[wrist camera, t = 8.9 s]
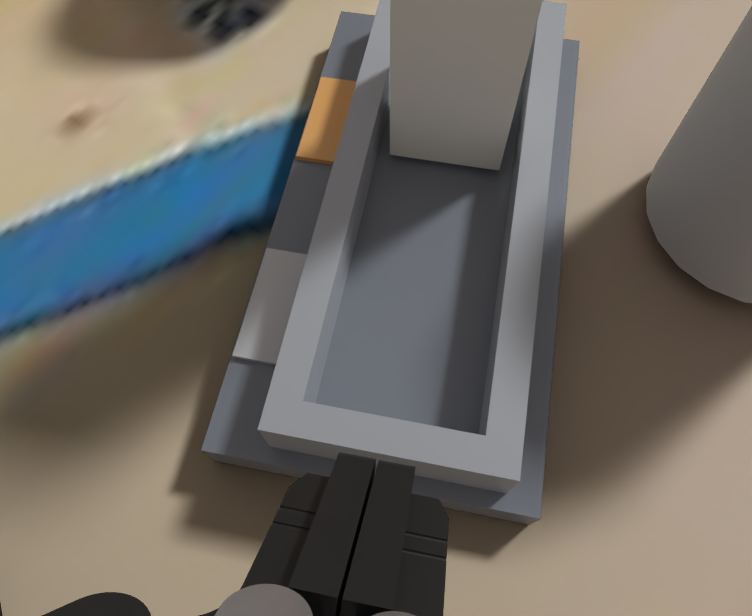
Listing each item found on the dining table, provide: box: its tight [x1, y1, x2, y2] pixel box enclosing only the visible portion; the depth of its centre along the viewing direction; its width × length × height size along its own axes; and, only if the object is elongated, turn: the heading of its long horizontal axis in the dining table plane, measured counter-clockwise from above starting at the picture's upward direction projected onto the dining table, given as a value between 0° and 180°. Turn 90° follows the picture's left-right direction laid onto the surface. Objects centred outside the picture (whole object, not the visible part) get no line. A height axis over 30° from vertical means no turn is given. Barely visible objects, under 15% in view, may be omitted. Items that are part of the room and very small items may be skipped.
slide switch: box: [201, 0, 579, 525], centre depth 22 cm, size 19×10×4 cm, turn 169°
